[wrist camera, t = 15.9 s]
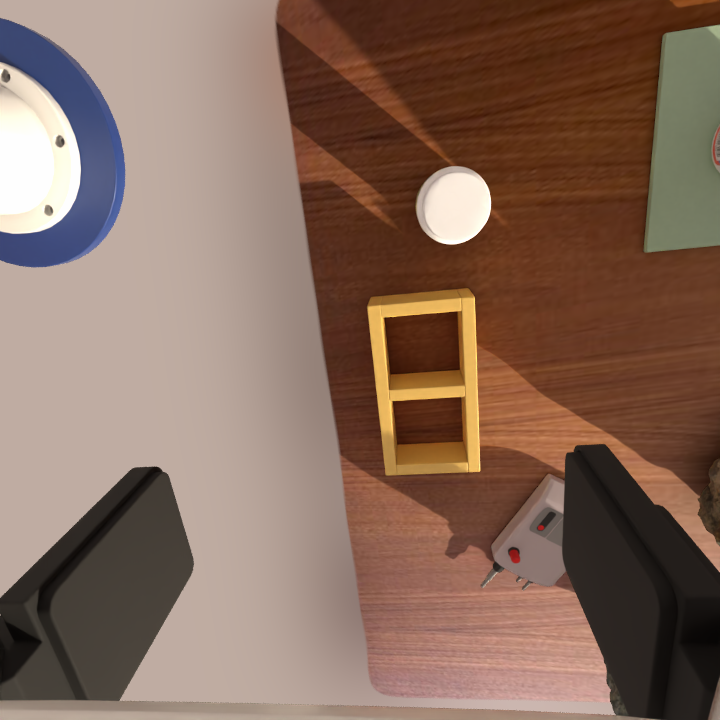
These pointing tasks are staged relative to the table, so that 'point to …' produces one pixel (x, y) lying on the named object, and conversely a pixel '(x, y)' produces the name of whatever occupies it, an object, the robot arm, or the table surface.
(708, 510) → the mineral specimen
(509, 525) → the grey electronic device
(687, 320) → the table surface
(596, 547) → the robot arm
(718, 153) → the pill bottle
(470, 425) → the bottle holder
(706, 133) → the mat
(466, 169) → the supplement bottle
